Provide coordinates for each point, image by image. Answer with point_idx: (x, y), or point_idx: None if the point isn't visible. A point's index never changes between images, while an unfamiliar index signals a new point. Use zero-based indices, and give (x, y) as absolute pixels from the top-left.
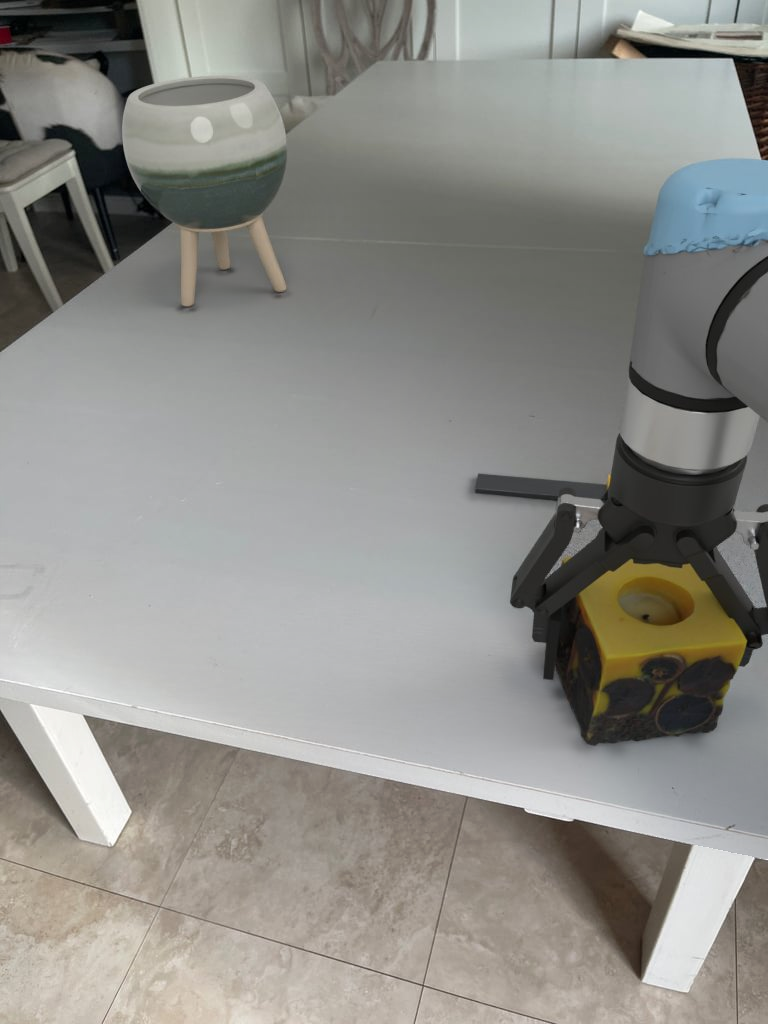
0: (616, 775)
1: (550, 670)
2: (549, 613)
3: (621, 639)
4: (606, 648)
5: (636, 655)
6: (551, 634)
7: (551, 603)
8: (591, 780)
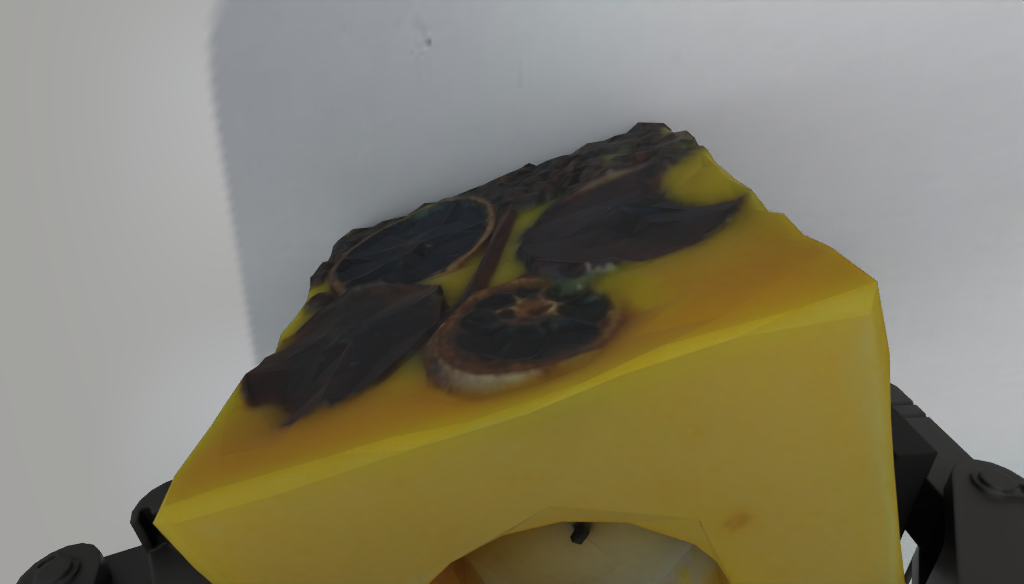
0: (577, 47)
1: None
2: (964, 481)
3: (762, 420)
4: (864, 350)
5: (698, 339)
6: None
7: (1007, 531)
8: (645, 12)
